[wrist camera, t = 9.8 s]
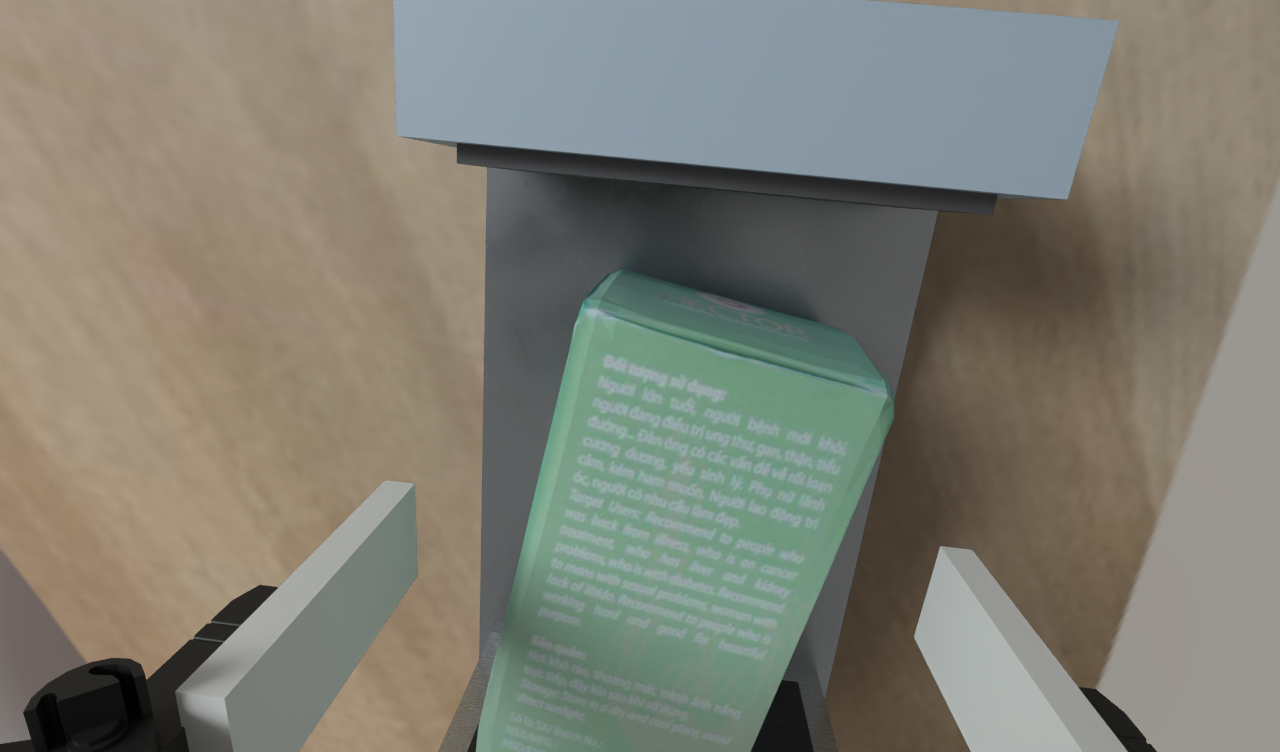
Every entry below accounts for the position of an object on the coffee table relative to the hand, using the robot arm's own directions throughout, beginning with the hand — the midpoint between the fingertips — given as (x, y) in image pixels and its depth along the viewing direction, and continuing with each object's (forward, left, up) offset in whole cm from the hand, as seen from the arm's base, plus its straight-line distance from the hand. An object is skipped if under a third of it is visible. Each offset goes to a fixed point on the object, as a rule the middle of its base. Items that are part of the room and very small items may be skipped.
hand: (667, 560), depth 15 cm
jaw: (-11, 0, -6) cm, 12 cm away
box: (+1, 0, -7) cm, 7 cm away
